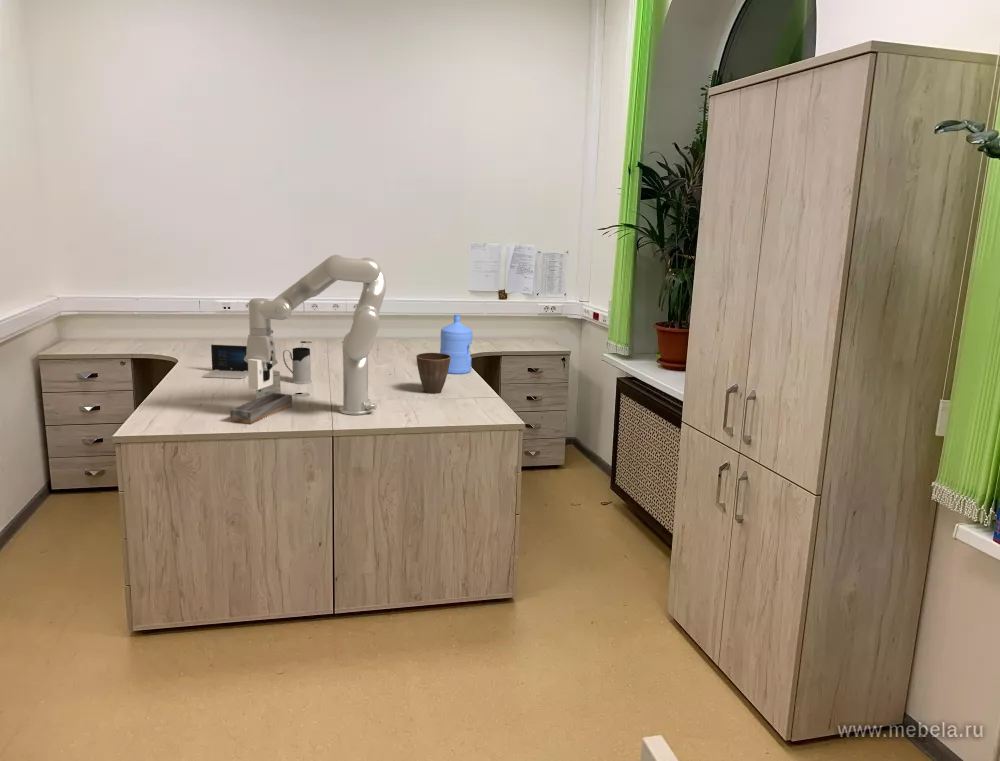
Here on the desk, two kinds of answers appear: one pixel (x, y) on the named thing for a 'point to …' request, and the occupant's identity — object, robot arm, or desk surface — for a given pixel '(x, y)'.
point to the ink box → (272, 388)
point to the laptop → (228, 362)
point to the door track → (260, 408)
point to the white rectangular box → (258, 374)
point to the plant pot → (433, 371)
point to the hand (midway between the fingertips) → (261, 379)
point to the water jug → (457, 346)
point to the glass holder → (300, 365)
